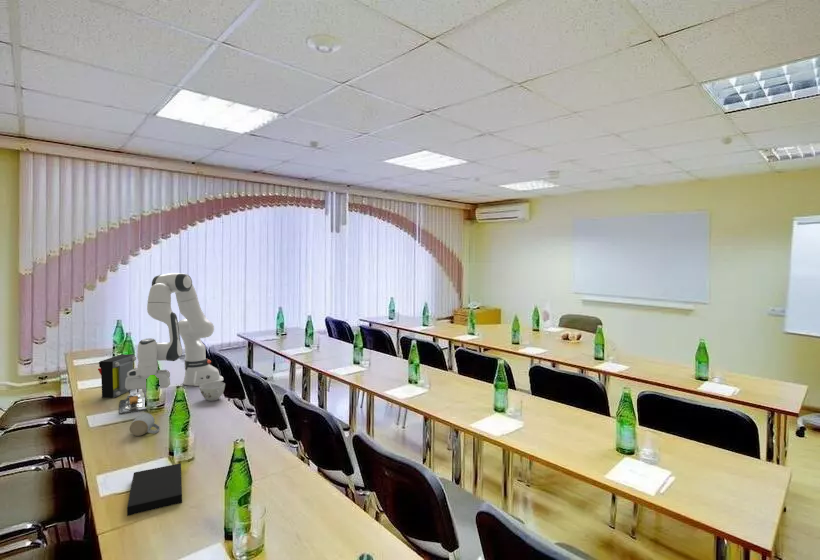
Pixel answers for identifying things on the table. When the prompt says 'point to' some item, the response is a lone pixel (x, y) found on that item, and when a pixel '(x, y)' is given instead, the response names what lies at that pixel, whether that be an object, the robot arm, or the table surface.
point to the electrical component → (115, 374)
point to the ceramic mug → (143, 425)
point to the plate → (132, 406)
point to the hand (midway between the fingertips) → (148, 396)
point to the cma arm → (133, 396)
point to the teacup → (212, 390)
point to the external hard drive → (155, 489)
